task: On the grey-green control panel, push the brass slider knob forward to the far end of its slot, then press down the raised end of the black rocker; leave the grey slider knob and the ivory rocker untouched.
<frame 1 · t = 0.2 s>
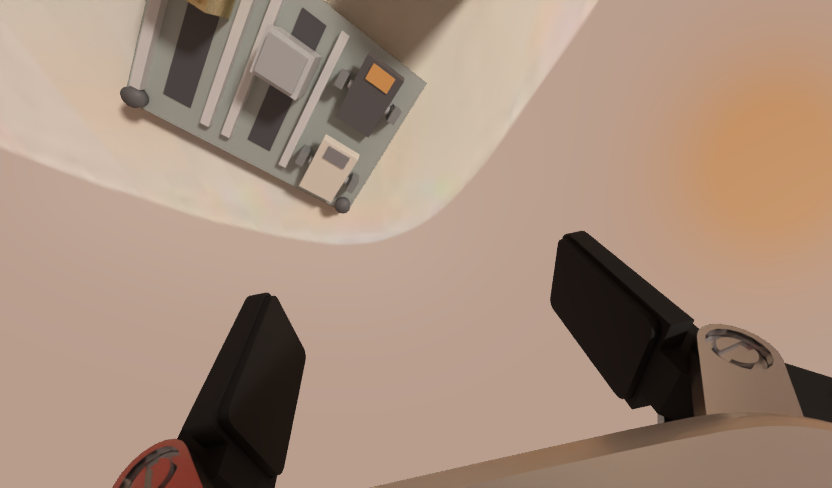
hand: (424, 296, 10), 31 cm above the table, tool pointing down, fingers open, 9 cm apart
slider grey: (288, 63, 27), point 5 cm above the table, slide at 0.0 cm
rocker ivory: (328, 170, 34), point 4 cm above the table, hinge at 15.0°
panel: (286, 88, 33), on the table
rocker black: (368, 98, 31), point 4 cm above the table, hinge at 15.0°
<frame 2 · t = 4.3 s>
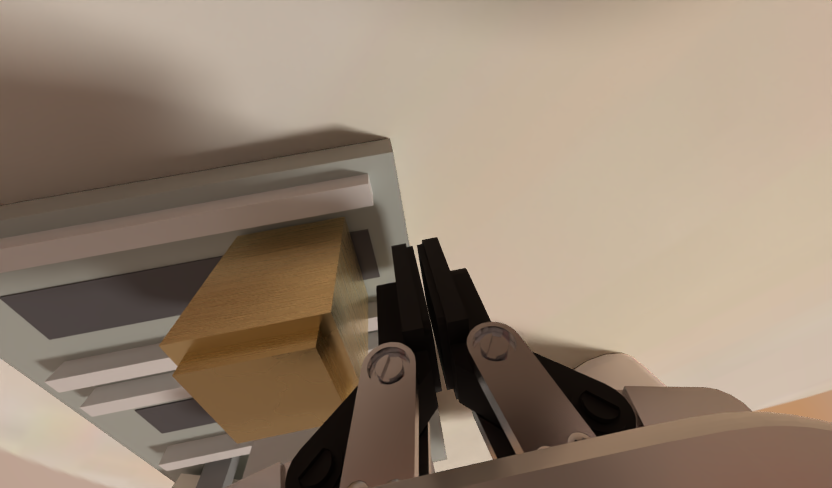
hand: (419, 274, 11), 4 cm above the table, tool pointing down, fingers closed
slider grey: (316, 444, 14), point 5 cm above the table, slide at 0.0 cm
slider brass: (294, 319, 10), point 5 cm above the table, slide at 0.2 cm, touching gripper
panel: (278, 365, 18), on the table
rocker black: (378, 474, 19), point 4 cm above the table, hinge at 15.0°
foam cup: (596, 377, 24), on the table
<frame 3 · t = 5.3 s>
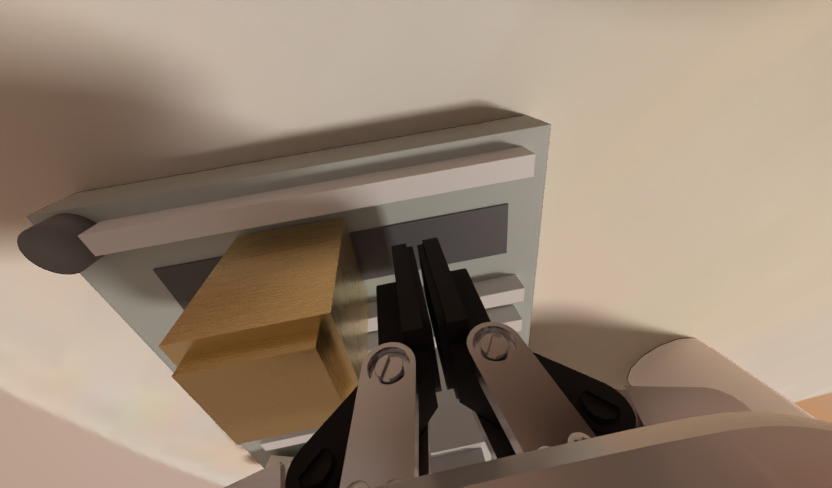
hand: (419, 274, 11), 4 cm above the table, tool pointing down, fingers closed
slider grey: (434, 419, 14), point 5 cm above the table, slide at 0.0 cm
slider brass: (294, 319, 10), point 5 cm above the table, slide at 5.9 cm, touching gripper
rocker ivory: (327, 485, 19), point 4 cm above the table, hinge at 15.0°
panel: (371, 347, 19), on the table
rocker black: (465, 455, 20), point 4 cm above the table, hinge at 15.0°
foam cup: (664, 362, 25), on the table
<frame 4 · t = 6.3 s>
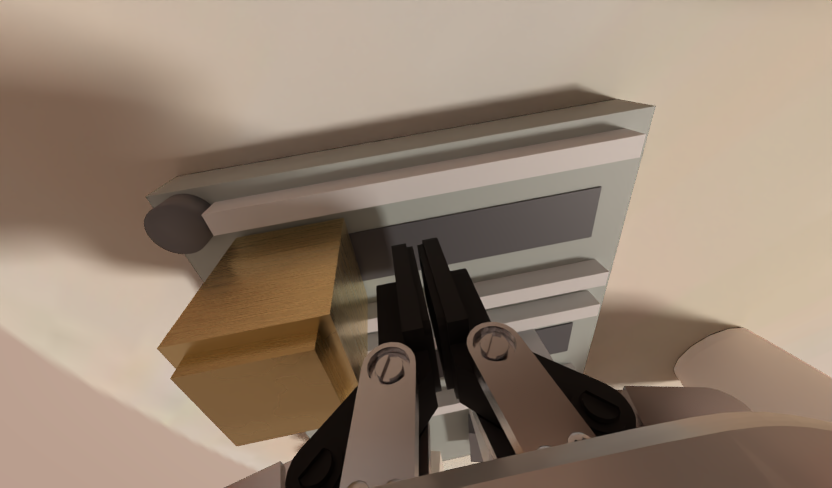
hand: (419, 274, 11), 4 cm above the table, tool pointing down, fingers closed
slider grey: (514, 403, 15), point 5 cm above the table, slide at 0.0 cm
slider brass: (294, 320, 10), point 5 cm above the table, slide at 9.8 cm, touching gripper
rocker ivory: (388, 473, 19), point 4 cm above the table, hinge at 15.0°
panel: (434, 335, 19), on the table
rocker black: (524, 443, 20), point 4 cm above the table, hinge at 15.0°
foam cup: (710, 353, 25), on the table
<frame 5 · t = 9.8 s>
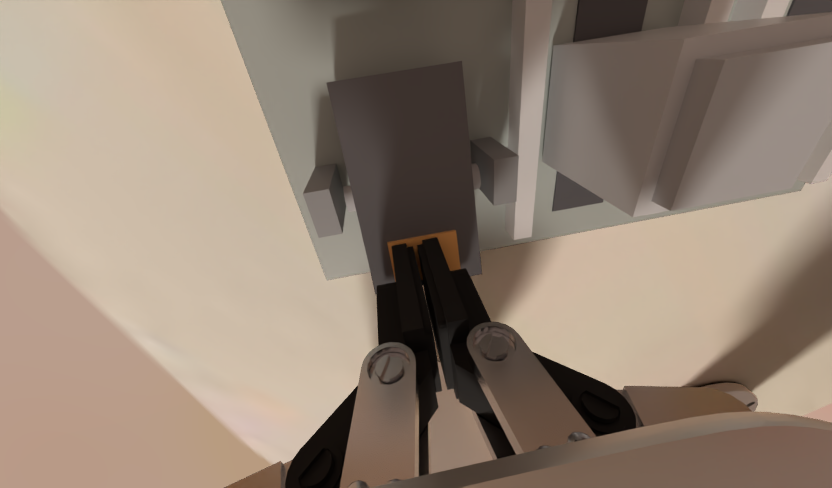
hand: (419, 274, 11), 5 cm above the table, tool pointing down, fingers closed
slider grey: (659, 112, 9), point 5 cm above the table, slide at 0.0 cm
panel: (577, 7, 12), on the table
rocker black: (412, 188, 10), point 4 cm above the table, hinge at 12.7°, touching gripper
foam cup: (418, 384, 23), on the table
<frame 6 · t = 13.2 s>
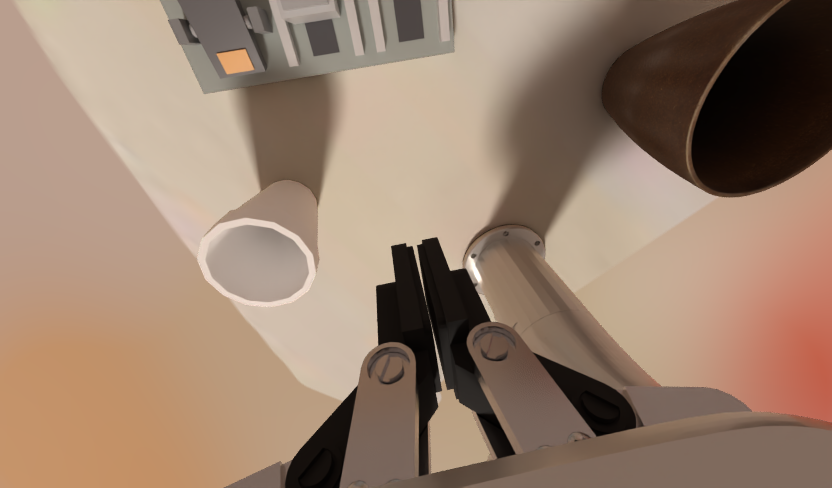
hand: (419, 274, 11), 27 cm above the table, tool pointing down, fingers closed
plant pot: (629, 83, 35), on the table
rocker black: (221, 26, 25), point 4 cm above the table, hinge at -16.1°
foam cup: (291, 203, 37), on the table
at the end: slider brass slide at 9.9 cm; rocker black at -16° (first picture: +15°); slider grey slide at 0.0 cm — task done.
